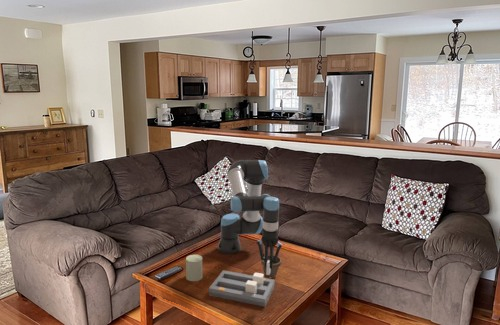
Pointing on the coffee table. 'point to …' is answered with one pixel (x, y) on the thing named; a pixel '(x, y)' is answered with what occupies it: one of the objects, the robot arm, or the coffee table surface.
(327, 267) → the coffee table surface
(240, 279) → the switch bank
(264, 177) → the robot arm
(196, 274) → the can
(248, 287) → the tab
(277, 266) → the flower pot
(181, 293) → the coffee table surface
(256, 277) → the tab
